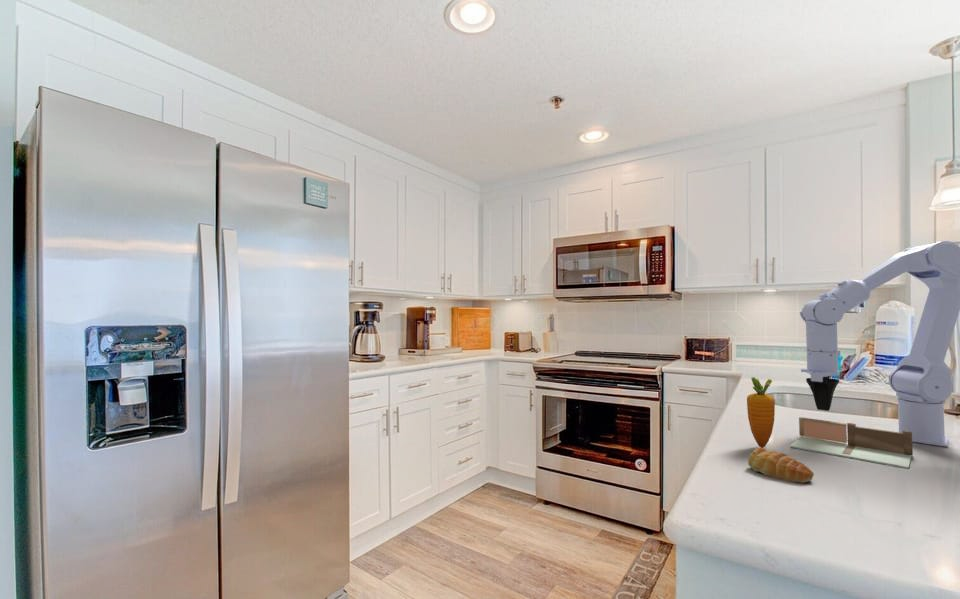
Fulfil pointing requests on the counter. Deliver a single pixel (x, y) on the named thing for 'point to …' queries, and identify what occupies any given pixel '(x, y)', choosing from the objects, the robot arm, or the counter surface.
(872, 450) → the card
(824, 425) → the hinged panel
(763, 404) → the carrot
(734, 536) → the counter surface
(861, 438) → the fence fixed
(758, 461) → the pastry
